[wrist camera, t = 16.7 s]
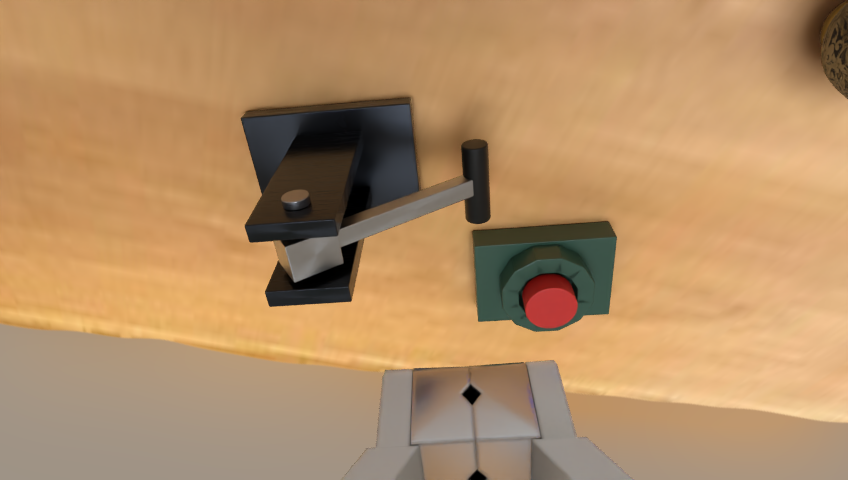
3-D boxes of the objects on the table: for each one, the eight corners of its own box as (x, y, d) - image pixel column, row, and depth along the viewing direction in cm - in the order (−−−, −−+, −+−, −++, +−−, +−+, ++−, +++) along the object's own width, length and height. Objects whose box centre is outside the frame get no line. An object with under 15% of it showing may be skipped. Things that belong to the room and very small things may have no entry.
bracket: (410, 96, 36) (400, 185, 25) (422, 204, 40) (417, 320, 29) (245, 111, 37) (166, 203, 26) (274, 215, 41) (216, 332, 30)
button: (522, 314, 41) (525, 330, 39) (522, 274, 39) (525, 289, 38) (571, 311, 41) (576, 327, 39) (573, 271, 39) (579, 286, 37)
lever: (473, 134, 34) (497, 146, 32) (476, 207, 36) (499, 221, 34) (262, 204, 28) (278, 223, 26) (284, 283, 31) (300, 304, 29)
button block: (476, 304, 45) (479, 337, 42) (472, 230, 41) (475, 261, 38) (601, 296, 44) (615, 330, 41) (608, 221, 41) (624, 251, 37)
